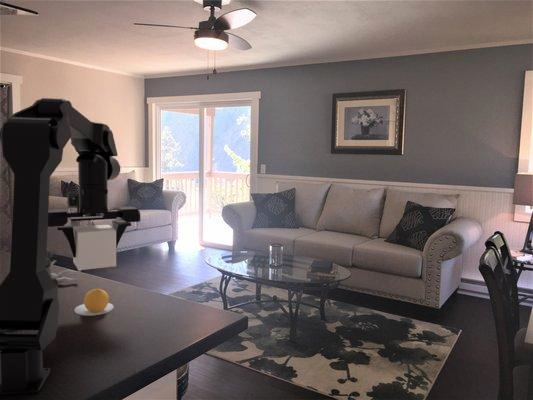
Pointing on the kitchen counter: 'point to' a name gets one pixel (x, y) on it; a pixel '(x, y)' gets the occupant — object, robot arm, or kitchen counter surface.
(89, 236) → the cream cube
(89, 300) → the ball
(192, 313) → the kitchen counter surface
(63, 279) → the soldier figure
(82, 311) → the white round disc
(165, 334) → the kitchen counter surface
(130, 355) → the kitchen counter surface
